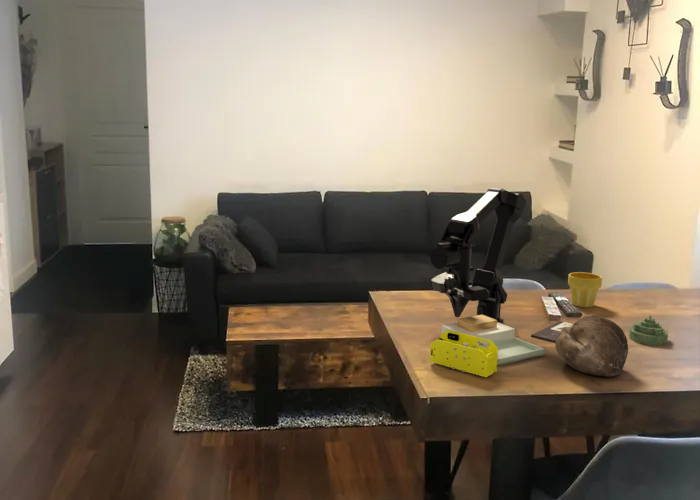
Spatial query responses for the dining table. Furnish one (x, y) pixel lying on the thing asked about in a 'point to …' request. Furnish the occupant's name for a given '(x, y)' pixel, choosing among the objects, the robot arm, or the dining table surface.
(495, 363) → the yellow toy chassis
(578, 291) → the plant pot
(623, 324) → the dining table surface
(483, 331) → the block
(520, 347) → the tray
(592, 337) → the seashell
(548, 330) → the chocolate bar
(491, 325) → the tan curved block
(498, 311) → the robot arm
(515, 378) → the dining table surface
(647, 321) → the decorative artifact
